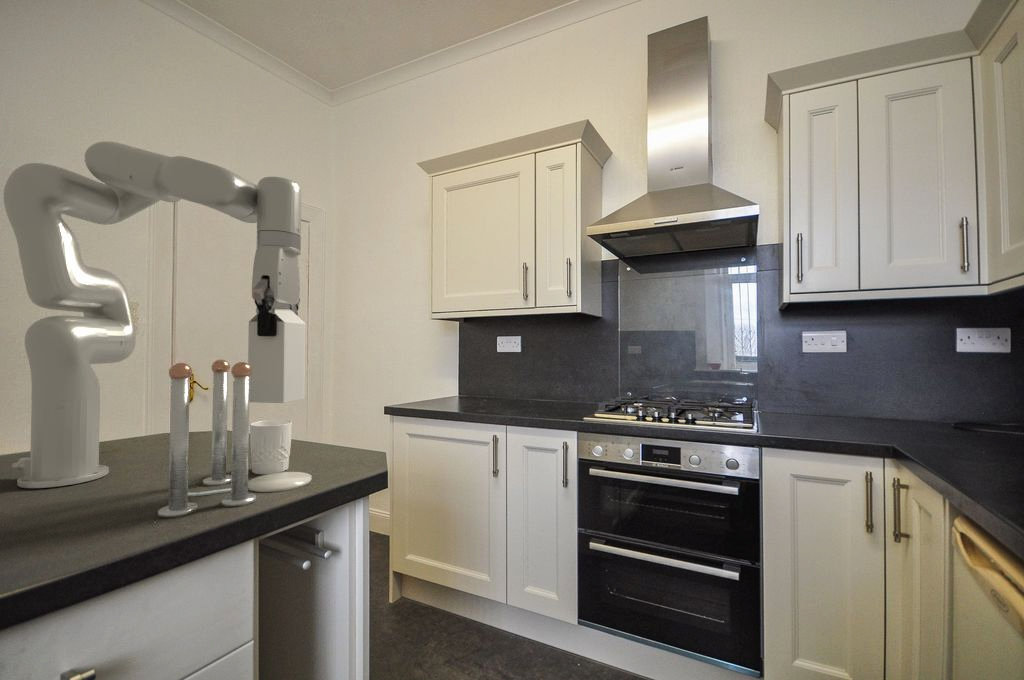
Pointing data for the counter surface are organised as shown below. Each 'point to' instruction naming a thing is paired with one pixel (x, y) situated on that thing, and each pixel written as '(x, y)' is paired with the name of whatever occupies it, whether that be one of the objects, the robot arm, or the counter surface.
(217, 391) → the post
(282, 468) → the white cup
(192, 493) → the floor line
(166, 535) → the counter surface
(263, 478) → the coaster
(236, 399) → the post
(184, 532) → the counter surface
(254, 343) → the milk carton
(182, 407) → the post
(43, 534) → the counter surface
